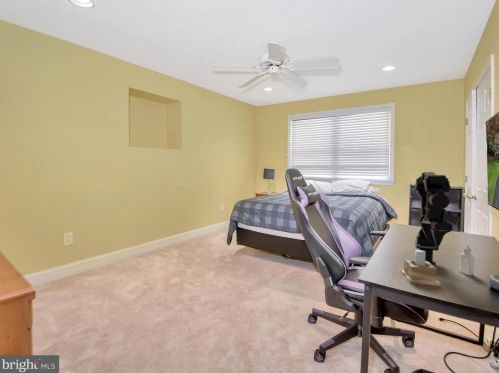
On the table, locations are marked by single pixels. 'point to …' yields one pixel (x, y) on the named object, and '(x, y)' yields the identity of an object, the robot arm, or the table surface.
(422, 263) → the peg
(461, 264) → the eye dropper bottle
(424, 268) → the bottle holder
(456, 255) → the table surface
